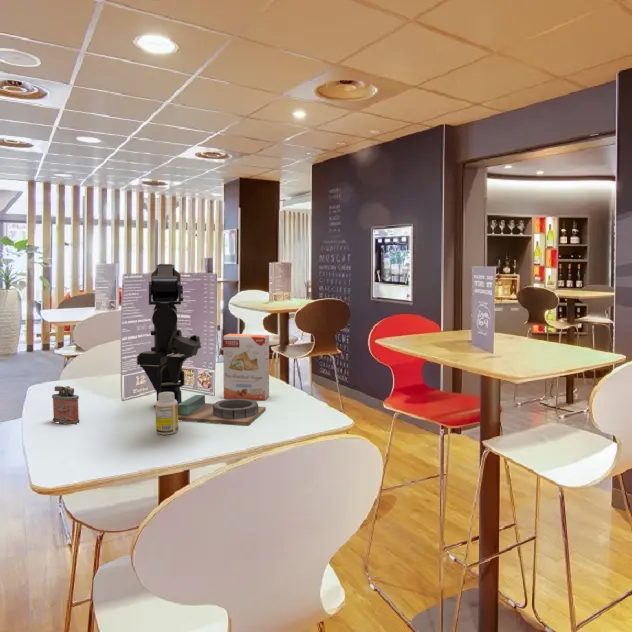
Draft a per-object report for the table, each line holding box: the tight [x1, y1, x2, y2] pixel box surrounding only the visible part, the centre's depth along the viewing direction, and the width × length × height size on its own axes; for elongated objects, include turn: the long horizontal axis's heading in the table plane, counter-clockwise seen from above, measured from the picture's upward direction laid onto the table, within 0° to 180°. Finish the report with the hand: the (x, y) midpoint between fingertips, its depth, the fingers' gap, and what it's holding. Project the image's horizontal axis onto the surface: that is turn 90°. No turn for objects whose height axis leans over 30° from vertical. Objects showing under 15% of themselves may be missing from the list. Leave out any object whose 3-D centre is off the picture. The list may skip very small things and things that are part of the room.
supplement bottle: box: [154, 392, 179, 436], centre depth 134 cm, size 6×6×10 cm
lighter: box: [51, 385, 80, 425], centre depth 142 cm, size 8×3×10 cm, turn 71°
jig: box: [178, 394, 267, 426], centre depth 151 cm, size 23×16×4 cm
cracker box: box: [222, 333, 270, 401], centre depth 170 cm, size 14×6×21 cm, turn 81°
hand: (166, 387), depth 134 cm, fingers open, 9 cm apart
